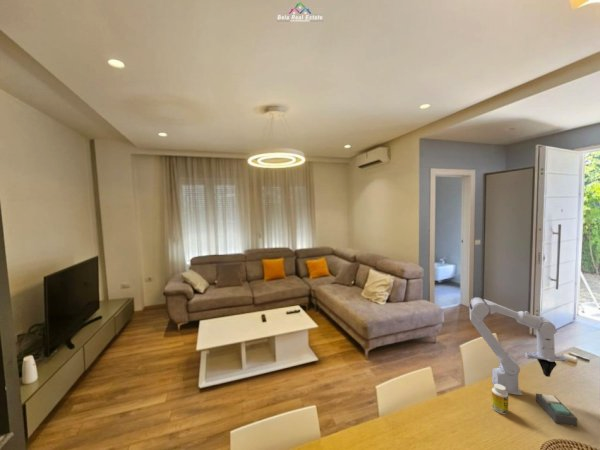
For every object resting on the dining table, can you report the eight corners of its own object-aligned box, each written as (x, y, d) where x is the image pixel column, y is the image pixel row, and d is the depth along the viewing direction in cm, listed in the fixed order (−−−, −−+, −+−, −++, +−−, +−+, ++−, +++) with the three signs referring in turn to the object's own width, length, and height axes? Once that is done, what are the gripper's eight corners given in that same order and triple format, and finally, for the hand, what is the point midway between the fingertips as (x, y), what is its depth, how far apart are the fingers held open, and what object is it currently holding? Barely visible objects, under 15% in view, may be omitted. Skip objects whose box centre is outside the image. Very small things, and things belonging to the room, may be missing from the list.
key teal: (557, 415, 101) (557, 410, 101) (550, 407, 105) (550, 403, 105) (569, 417, 100) (569, 412, 100) (562, 409, 104) (562, 404, 104)
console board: (555, 423, 100) (555, 420, 100) (535, 400, 112) (535, 398, 112) (576, 426, 98) (576, 424, 98) (554, 403, 110) (554, 401, 110)
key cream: (548, 405, 107) (548, 400, 106) (541, 398, 110) (541, 394, 110) (559, 406, 105) (559, 402, 105) (553, 400, 109) (553, 395, 109)
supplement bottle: (505, 417, 104) (505, 392, 104) (489, 408, 109) (489, 385, 108) (510, 410, 107) (510, 387, 107) (494, 403, 112) (494, 380, 111)
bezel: (555, 420, 100) (555, 414, 100) (535, 398, 112) (535, 393, 112) (576, 424, 98) (577, 418, 98) (554, 401, 110) (554, 396, 110)
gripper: (530, 348, 112) (531, 378, 113) (572, 352, 108) (573, 383, 108) (522, 341, 119) (523, 369, 119) (561, 344, 114) (562, 373, 115)
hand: (546, 375), depth 114 cm, fingers closed
